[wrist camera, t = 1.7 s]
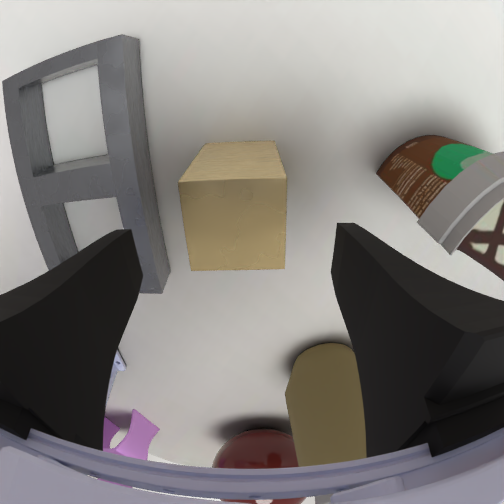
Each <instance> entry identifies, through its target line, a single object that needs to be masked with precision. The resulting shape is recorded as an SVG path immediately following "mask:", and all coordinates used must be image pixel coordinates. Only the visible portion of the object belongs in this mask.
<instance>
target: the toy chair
mask: <svg viewBox="0 0 504 504" xmlns="http://www.w3.org/2000/svg"><path fill="white" fill-rule="evenodd" d="M119 430H120V428H119V427H118V426H116V425H115V424H113V423H112V422H111V421H110V420H108V419H107V418H106V417H104V430H103V451H104V452H108V453H113V454H117V455H122V456H127V457H132V458H137V459H142V460H147V456H148V448H149V444H150V442H151V440H152V439H153V437H154V436H155V435H156V433H157V432H158V431H159V430H160V429H159V428H158V427H156V426H155V425H154V424H153V423H151V422H150V421H149V420H148V419H146V418H145V417H144V416H143V415H141V414H140V413H139V412H138V411H136V410H135V409H133V411H132V418H131V424H130V428H129V431H128V433H127V435H126V436H125V438H124V439H123V440H122V441H121V442H120V443H119V444H118V445H117V446H116V447H115V448H112V449H110V442H111V439H112V438H113V436H114V435H115V434H116V433H117V432H118V431H119ZM98 480H101V481H105V482H108V483H112V484H116V485H120V486H124V487H128V488H132V487H131V486H127V485H123V484H118V483H114V482H111V481H107V480H103V479H100V478H98Z"/></svg>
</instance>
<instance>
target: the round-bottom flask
mask: <svg viewBox="0 0 504 504" xmlns="http://www.w3.org/2000/svg"><path fill="white" fill-rule="evenodd" d="M292 467H299V465H298V460H297V455H296V450H295V445H294V439H293V436H291V435H289V434H287V433H284V432H281V431H278V430H273V429H254V430H249V431H246V432H243V433H240V434H238V435H236V436H234V437H233V438H231V439H230V440H229V441H227V442H226V443H225V444H224V445H223V446H222V447H221V449H220V450H219V451H218V453H217V455H216V456H215V459H214V461H213V465H212V468H227V469H273V468H292ZM305 498H306V497H301V498H288V499H264V500H240V499H220V500H221V501H223V502H236V503H248V504H301V503H302V502H303V501H304V500H305Z"/></svg>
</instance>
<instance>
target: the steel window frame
mask: <svg viewBox="0 0 504 504" xmlns="http://www.w3.org/2000/svg"><path fill="white" fill-rule="evenodd" d="M95 65H98V74H99V86H100V96H101V105H102V114H103V121H104V129H105V136H106V142H107V149H108V155H103V156H97V157H92V158H86V159H81V160H76V161H70V162H66V163H61V164H56V165H53V160H52V155H51V150H50V144H49V139H48V133H47V127H46V120H45V113H44V105H43V97H42V87H41V84H42V83H45V82H47V81H50V80H53V79H55V78H58V77H61V76H64V75H66V74H69V73H72V72H75V71H78V70H81V69H85V68H88V67H91V66H95ZM2 83H3V95H4V104H5V112H6V120H7V126H8V132H9V138H10V144H11V149H12V154H13V158H14V163H15V167H16V172H17V176H18V180H19V184H20V187H21V191H22V195H23V198H24V202H25V205H26V208H27V212H28V215H29V218H30V221H31V224H32V227H33V230H34V233H35V236H36V239H37V241H38V244H39V247H40V249H41V252H42V255H43V257H44V260H45V262H46V265H47V267H48V269H49V271H50V270H51V269H53V268H55V267H56V266H58V265H59V264H61V263H62V262H64V261H66V260H67V259H69V258H70V257H72V256H73V255H75V254H77V253H78V251H77V248H76V245H75V242H74V239H73V236H72V232H71V229H70V226H69V223H68V219H67V216H66V213H65V209H64V205H63V203H65V202H73V201H81V200H90V199H99V198H108V197H117V201H118V206H119V210H120V215H121V219H122V223H123V227H124V229H131V230H132V234H133V238H134V242H135V246H136V250H137V254H138V258H139V261H140V265H141V269H142V272H143V279H142V283H141V287H140V291H139V293H160V294H162V293H163V290H164V287H165V285H166V282H167V279H168V276H169V274H170V268H169V263H168V259H167V254H166V249H165V244H164V239H163V234H162V229H161V223H160V218H159V212H158V207H157V201H156V195H155V189H154V182H153V176H152V169H151V162H150V155H149V148H148V140H147V131H146V123H145V114H144V104H143V93H142V81H141V66H140V49H139V39H137V38H133V37H130V36H126V35H118V36H115V37H111V38H107V39H104V40H101V41H97V42H94V43H91V44H88V45H85V46H82V47H79V48H76V49H73V50H71V51H68V52H65V53H63V54H60V55H58V56H55V57H53V58H50V59H48V60H45V61H43V62H41V63H38V64H36V65H34V66H32V67H30V68H28V69H25V70H23V71H21V72H19V73H17V74H15V75H13V76H11V77H9V78H7V79H6V80H4V81H2Z"/></svg>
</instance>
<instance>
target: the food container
mask: <svg viewBox="0 0 504 504" xmlns="http://www.w3.org/2000/svg"><path fill="white" fill-rule="evenodd" d="M376 174H377V175H378V176H379V177H380V178H381V179H382V180H383V181H384V182H385V183H386V184H387V185H388V186H389V187H390V188H391V189H392V190H393V191H394V192H395V193H396V194H397V195H398V196H399V197H400V199H401V200H402V201H403V202H404V203H405V204H406V205H407V206H408V207H409V208H410V209H411V210H412V211H413V213H414V214H415V215H416V216H417V217H418V218H419V220H418V221H417V223H418V224H419V225H420V226H421V227H422V228H423V229H424V230H425V231H426V232H427V233H428V234H429V235H430V236H431V237H432V238H433V239H434V240H435V241H436V242H437V243H439V244H441V245H442V246H443V247H444V249H445V250H446V251H447V252H448V253H449V254H450V255H452V254H453V253H454V251H455V250H456V249H457V250H460V251H461V252H463V253H465V254H467V255H468V256H470V257H471V258H473V259H474V260H476V261H477V262H478V263H480V264H481V265H483V266H484V267H486V268H487V269H489V270H490V271H491V272H493V273H494V274H495V275H497V276H498V277H499V278H501V279H502V280H503V281H504V152H500V153H495V154H492V153H489V152H487V151H484V150H481V149H478V148H476V147H473V146H470V145H467V144H464V143H461V142H458V141H455V140H452V139H449V138H445V137H442V136H436V135H425V136H421V137H416V138H414V139H412V140H409V141H407V142H406V143H404V144H402V145H401V146H399V147H398V148H397V149H396V150H395V151H393V152H392V153H391V154H390V155H389V156H388V158H387V159H386V160H385V161H384V162H383V164H382V165H381V167H380V168H379V170H378V172H377V173H376Z"/></svg>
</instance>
